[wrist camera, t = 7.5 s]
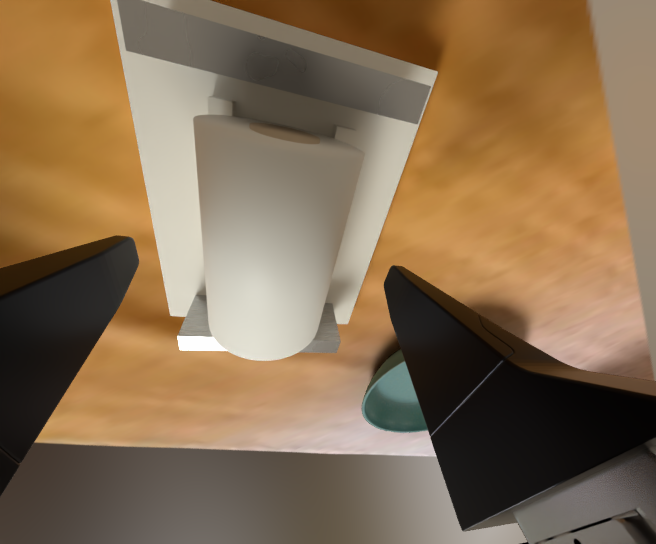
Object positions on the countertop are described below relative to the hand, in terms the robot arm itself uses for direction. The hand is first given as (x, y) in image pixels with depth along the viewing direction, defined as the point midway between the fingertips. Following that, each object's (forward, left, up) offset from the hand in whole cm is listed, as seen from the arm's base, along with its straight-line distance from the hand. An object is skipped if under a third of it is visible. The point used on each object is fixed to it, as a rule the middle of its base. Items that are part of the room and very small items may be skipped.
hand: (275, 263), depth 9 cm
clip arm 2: (+6, 0, -4) cm, 7 cm away
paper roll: (0, 0, -4) cm, 4 cm away
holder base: (0, 0, -5) cm, 5 cm away
